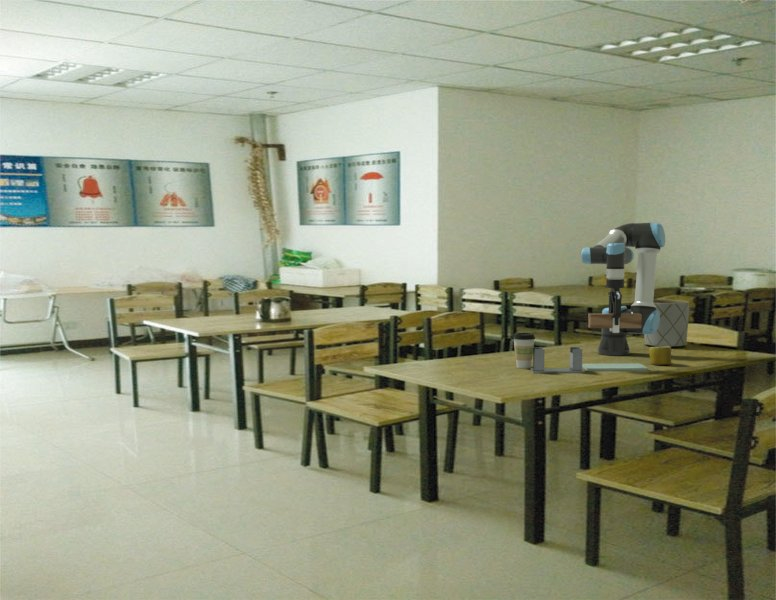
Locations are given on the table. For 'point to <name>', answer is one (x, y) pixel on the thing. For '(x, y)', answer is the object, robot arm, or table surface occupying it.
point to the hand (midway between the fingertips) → (614, 331)
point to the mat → (614, 367)
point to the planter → (670, 324)
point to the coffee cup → (523, 349)
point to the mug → (660, 355)
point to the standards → (574, 368)
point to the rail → (607, 321)
